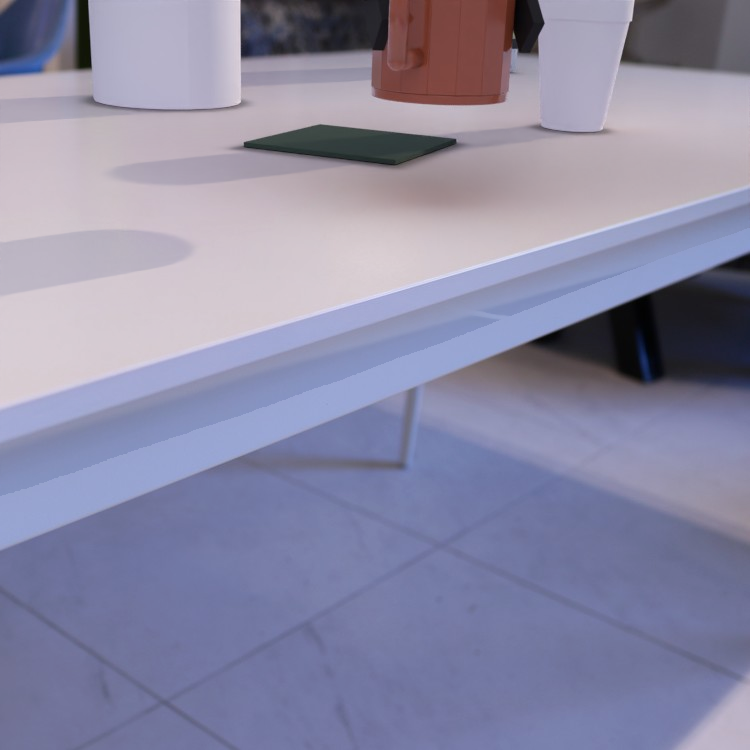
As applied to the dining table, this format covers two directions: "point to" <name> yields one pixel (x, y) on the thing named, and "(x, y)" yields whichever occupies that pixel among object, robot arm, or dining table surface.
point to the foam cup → (580, 60)
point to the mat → (352, 143)
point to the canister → (166, 53)
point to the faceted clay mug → (445, 52)
